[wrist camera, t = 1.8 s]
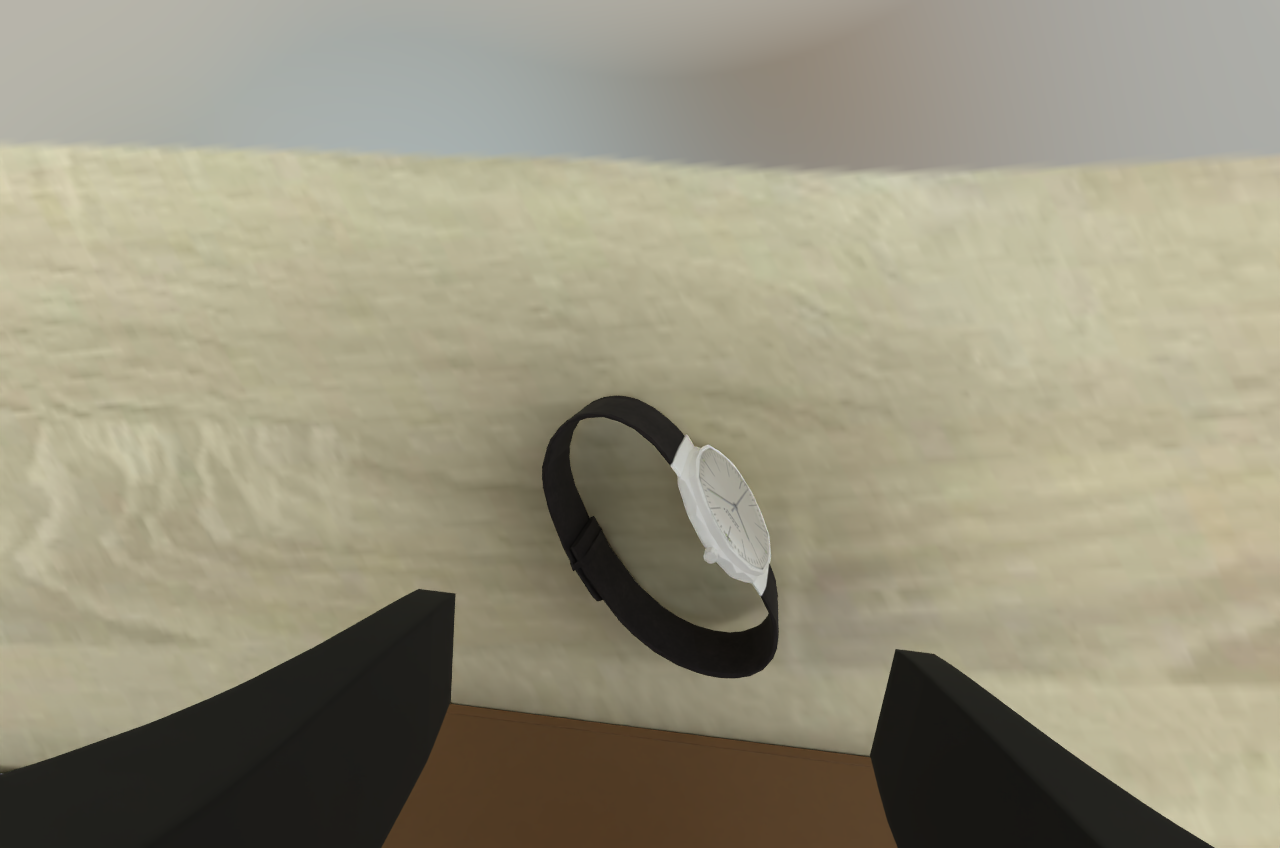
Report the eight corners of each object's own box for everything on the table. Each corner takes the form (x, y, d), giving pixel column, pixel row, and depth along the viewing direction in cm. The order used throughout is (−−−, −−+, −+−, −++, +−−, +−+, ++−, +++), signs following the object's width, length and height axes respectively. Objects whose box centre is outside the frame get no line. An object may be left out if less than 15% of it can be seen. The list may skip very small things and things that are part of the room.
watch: (816, 584, 17) (855, 667, 13) (671, 666, 18) (672, 765, 14) (658, 348, 16) (656, 371, 12) (509, 448, 16) (466, 497, 13)
